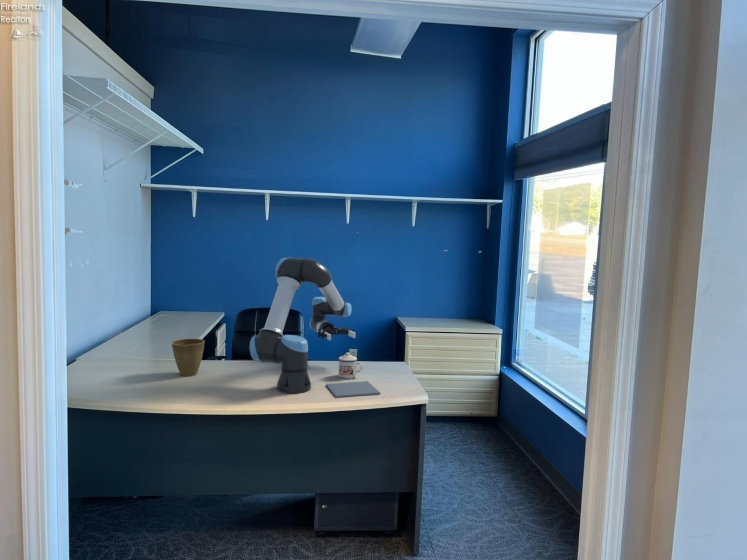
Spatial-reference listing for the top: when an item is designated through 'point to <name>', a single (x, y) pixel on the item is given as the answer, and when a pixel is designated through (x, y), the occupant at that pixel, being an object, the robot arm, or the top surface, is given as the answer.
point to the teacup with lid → (348, 366)
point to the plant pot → (188, 355)
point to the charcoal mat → (352, 389)
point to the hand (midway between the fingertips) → (342, 336)
